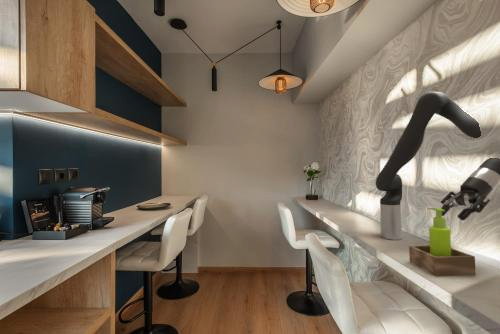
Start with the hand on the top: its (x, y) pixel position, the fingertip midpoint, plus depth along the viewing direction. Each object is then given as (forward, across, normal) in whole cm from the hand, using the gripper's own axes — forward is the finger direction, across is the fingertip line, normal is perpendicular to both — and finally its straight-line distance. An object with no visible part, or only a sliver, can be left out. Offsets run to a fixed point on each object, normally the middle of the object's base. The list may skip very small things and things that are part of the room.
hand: (449, 216), depth 86 cm
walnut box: (+16, 0, +10) cm, 19 cm away
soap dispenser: (+15, 0, +10) cm, 18 cm away
